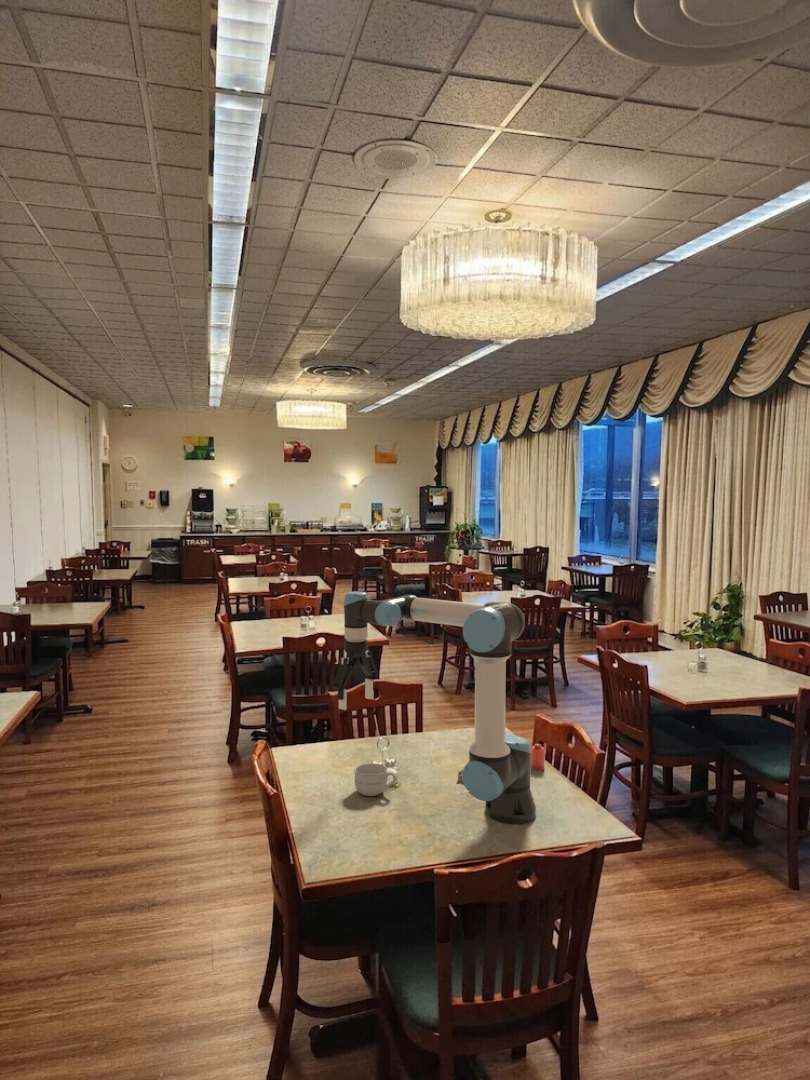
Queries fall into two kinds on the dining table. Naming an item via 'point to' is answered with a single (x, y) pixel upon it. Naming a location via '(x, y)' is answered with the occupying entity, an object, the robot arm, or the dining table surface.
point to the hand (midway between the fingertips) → (356, 703)
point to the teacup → (372, 779)
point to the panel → (460, 775)
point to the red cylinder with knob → (537, 757)
